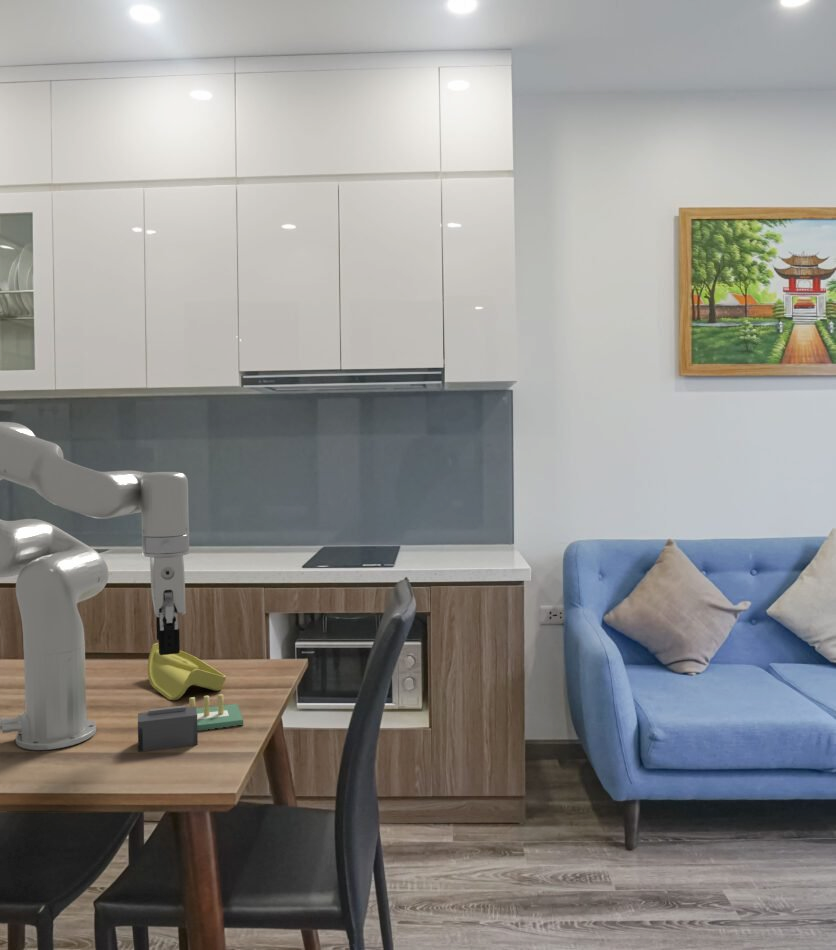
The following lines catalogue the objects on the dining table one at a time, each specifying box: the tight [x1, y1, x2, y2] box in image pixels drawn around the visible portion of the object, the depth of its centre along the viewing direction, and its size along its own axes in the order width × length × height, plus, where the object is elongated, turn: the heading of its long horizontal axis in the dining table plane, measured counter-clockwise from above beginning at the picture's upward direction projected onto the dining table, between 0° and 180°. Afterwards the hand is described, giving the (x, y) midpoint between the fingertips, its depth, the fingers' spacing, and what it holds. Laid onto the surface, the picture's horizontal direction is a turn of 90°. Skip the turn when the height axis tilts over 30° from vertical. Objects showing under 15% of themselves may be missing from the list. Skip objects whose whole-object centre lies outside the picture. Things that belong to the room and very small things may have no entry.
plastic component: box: [147, 642, 227, 701], centre depth 162 cm, size 20×7×10 cm
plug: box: [137, 705, 199, 753], centre depth 130 cm, size 9×4×6 cm, turn 110°
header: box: [188, 693, 244, 732], centre depth 141 cm, size 12×9×4 cm
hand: (167, 646), depth 130 cm, fingers open, 9 cm apart
